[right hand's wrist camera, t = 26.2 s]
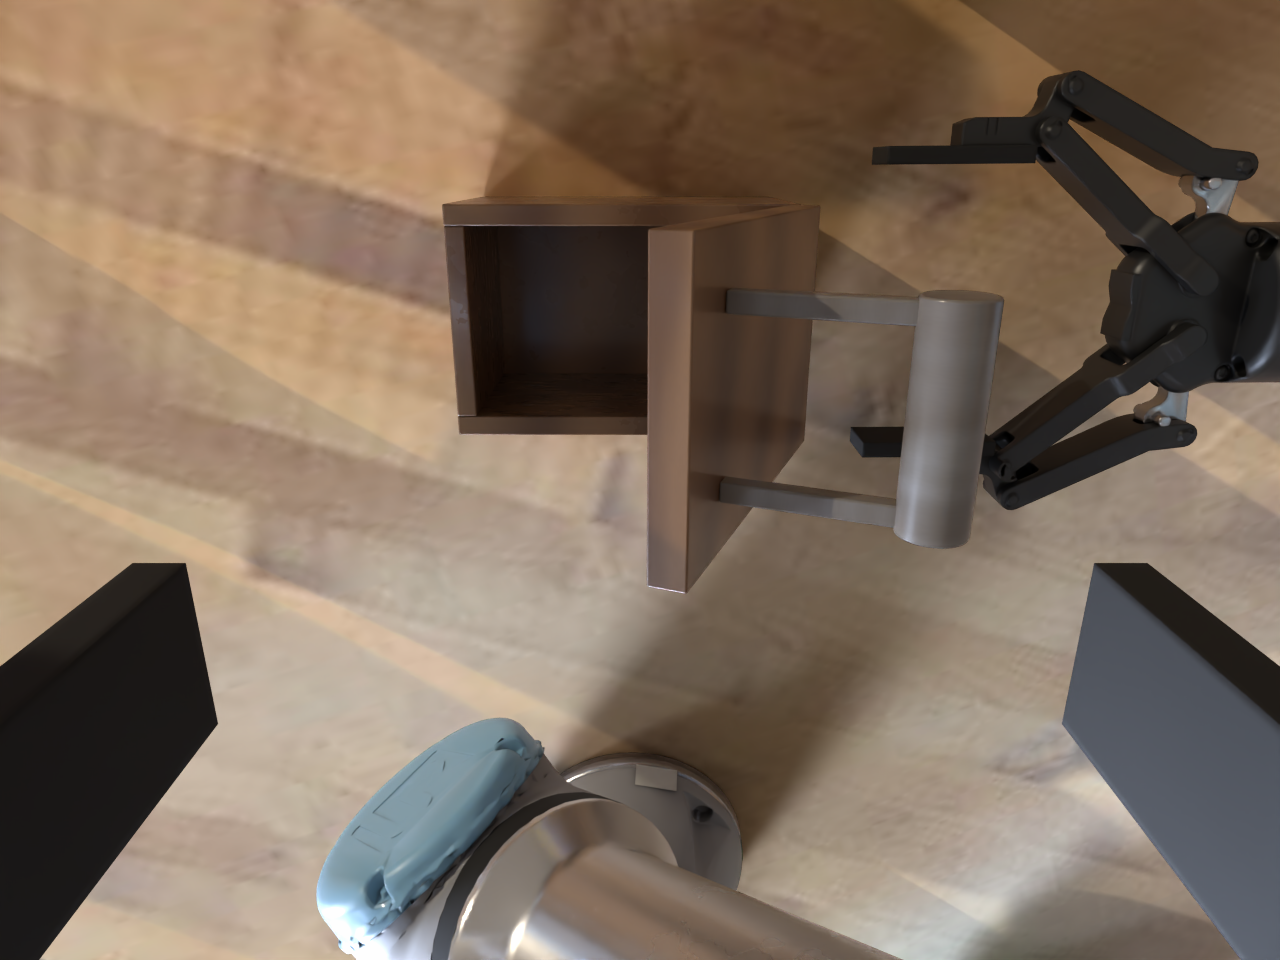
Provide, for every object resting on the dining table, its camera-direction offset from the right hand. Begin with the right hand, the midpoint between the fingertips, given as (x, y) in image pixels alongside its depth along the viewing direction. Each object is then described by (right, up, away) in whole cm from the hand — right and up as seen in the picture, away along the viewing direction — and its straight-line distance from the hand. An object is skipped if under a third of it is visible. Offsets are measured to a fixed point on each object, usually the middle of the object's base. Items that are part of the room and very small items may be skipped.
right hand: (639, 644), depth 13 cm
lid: (+3, +7, +18) cm, 20 cm away
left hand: (+11, +11, +29) cm, 32 cm away
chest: (-1, +13, +35) cm, 37 cm away
